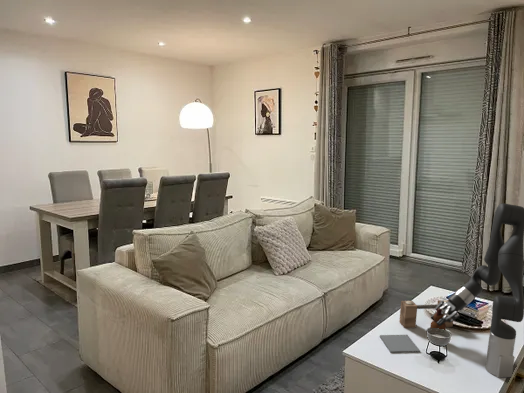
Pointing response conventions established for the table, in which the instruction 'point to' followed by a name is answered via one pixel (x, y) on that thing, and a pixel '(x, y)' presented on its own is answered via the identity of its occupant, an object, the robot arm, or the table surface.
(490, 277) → the robot arm
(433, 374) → the table surface
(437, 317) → the wooden figurine
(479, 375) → the table surface
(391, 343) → the slate mat
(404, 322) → the handrail
